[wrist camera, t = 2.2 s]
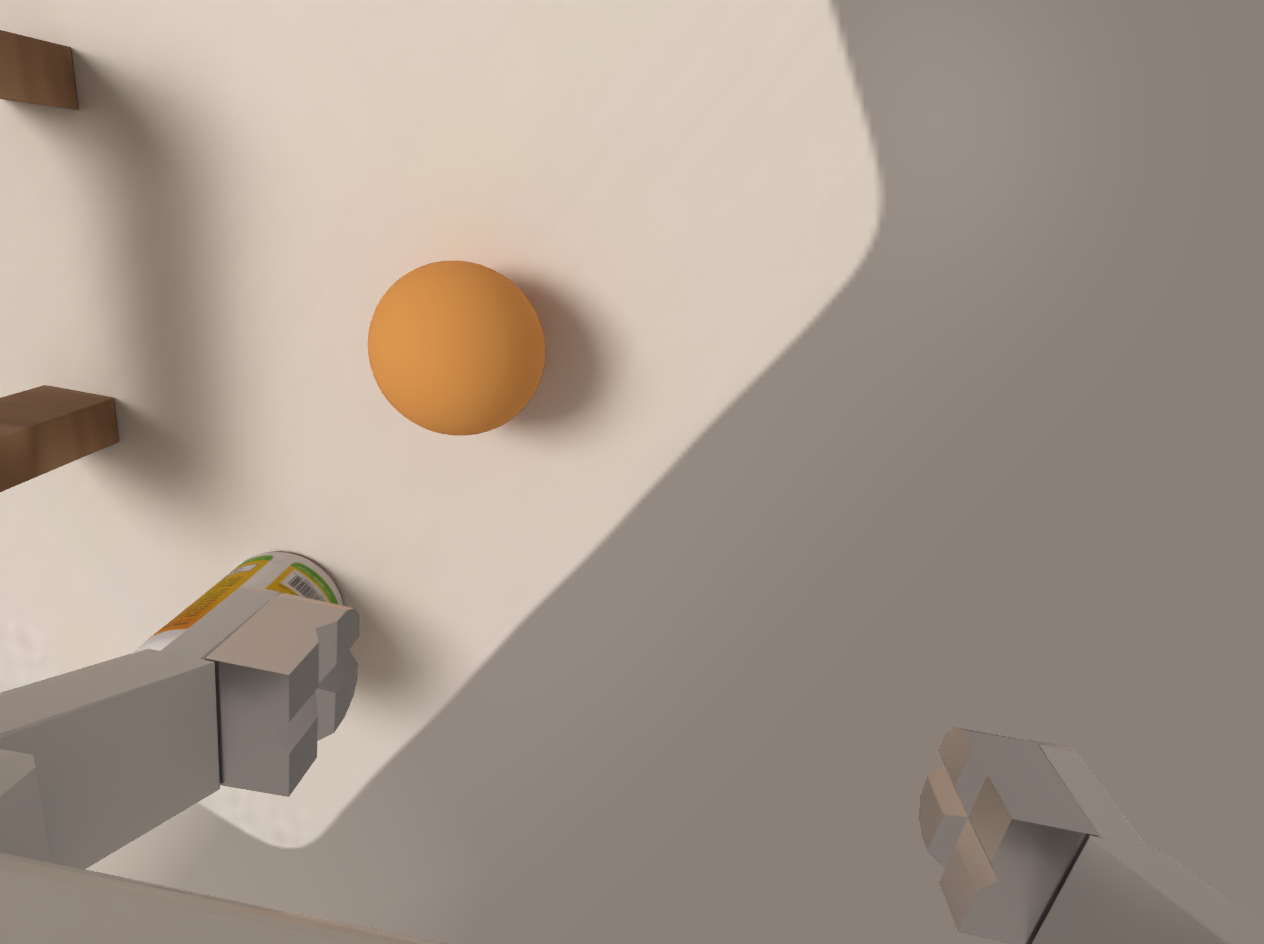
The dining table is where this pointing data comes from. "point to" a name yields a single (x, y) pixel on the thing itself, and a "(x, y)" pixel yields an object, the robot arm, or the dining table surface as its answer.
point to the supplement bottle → (259, 572)
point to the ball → (456, 348)
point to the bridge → (45, 416)
